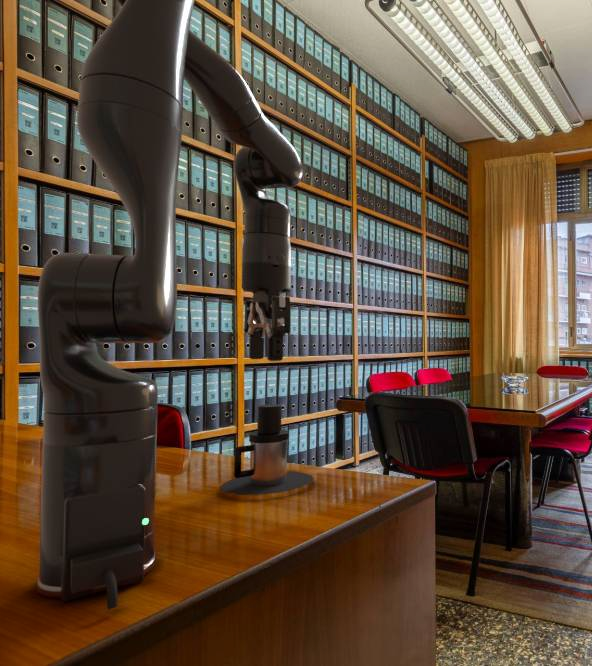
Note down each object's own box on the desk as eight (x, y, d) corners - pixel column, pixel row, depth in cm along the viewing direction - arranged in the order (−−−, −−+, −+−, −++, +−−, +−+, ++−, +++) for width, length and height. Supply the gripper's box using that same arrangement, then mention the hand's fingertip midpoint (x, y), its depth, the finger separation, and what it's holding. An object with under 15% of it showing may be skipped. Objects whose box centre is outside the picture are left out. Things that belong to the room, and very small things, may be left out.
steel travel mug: (280, 475, 87) (281, 402, 88) (293, 482, 83) (294, 405, 83) (228, 484, 81) (229, 406, 82) (239, 492, 77) (241, 410, 77)
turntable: (327, 488, 83) (327, 482, 83) (236, 507, 73) (236, 500, 73) (293, 472, 93) (293, 467, 93) (209, 487, 83) (209, 481, 83)
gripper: (229, 265, 86) (227, 359, 86) (258, 255, 76) (256, 361, 76) (274, 270, 92) (272, 358, 91) (307, 261, 81) (305, 360, 81)
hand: (265, 359), depth 83 cm, fingers open, 8 cm apart
